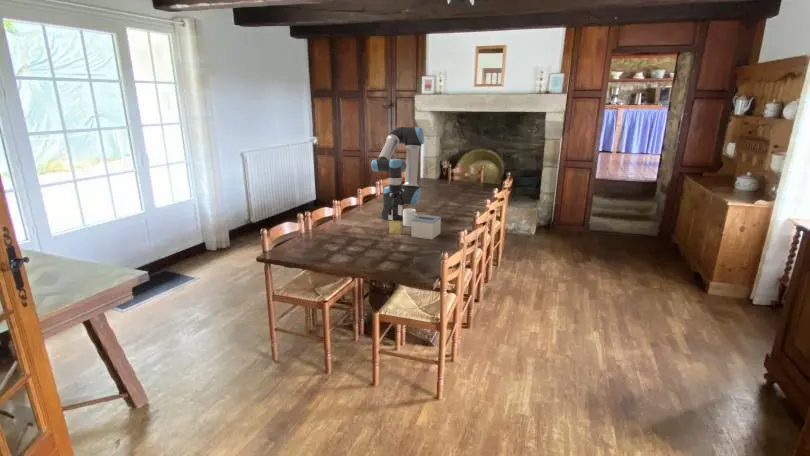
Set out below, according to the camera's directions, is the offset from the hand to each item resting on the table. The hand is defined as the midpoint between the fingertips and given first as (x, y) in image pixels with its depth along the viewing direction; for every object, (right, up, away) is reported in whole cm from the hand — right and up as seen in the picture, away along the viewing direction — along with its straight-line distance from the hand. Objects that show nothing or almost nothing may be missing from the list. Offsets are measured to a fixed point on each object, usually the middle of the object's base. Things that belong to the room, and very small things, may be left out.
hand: (395, 217), depth 273 cm
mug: (+11, -5, +20) cm, 23 cm away
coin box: (+19, -11, 0) cm, 22 cm away
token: (0, -10, +3) cm, 11 cm away
